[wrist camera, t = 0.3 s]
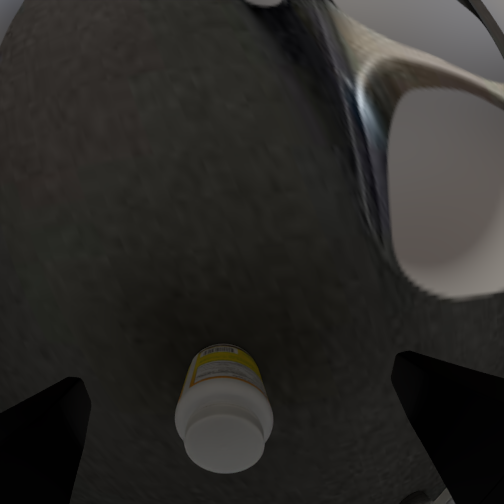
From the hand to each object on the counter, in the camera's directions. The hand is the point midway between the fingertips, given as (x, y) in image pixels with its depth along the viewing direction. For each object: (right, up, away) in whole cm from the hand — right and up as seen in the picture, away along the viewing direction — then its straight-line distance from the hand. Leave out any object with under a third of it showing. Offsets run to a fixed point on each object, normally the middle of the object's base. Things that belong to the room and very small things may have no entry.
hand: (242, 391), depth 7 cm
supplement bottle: (-2, -6, +15) cm, 16 cm away
